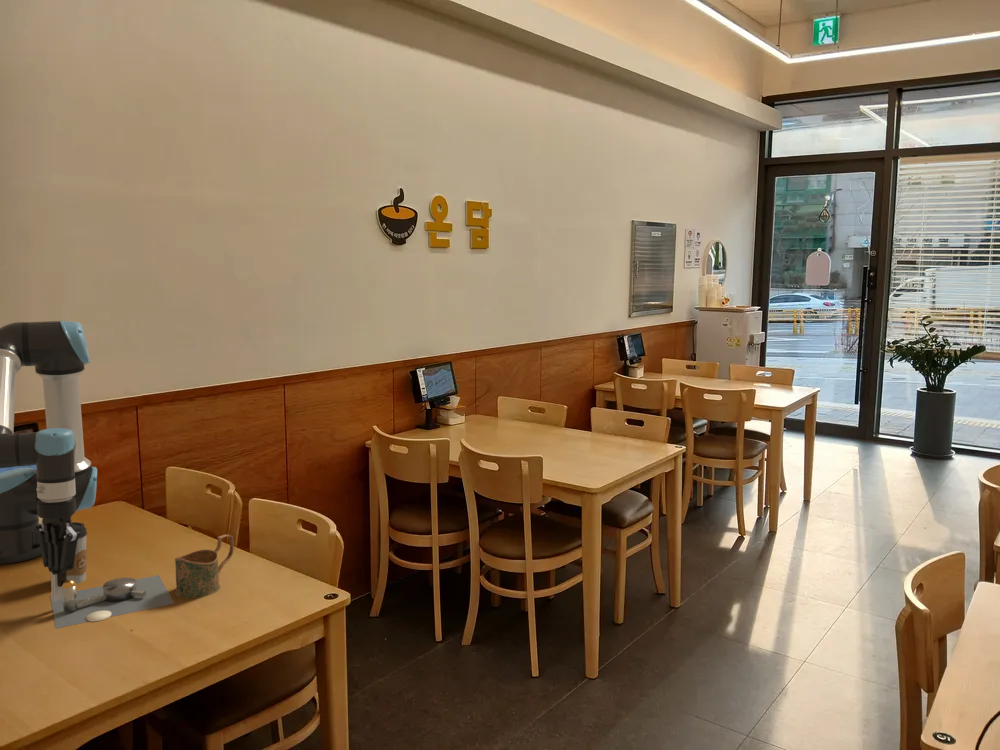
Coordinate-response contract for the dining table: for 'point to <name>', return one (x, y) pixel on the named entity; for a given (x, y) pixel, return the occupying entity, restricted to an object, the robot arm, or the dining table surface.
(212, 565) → the mug
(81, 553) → the coffee cup
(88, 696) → the dining table surface
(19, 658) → the dining table surface
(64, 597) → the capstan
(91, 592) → the stand plate
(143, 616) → the dining table surface
